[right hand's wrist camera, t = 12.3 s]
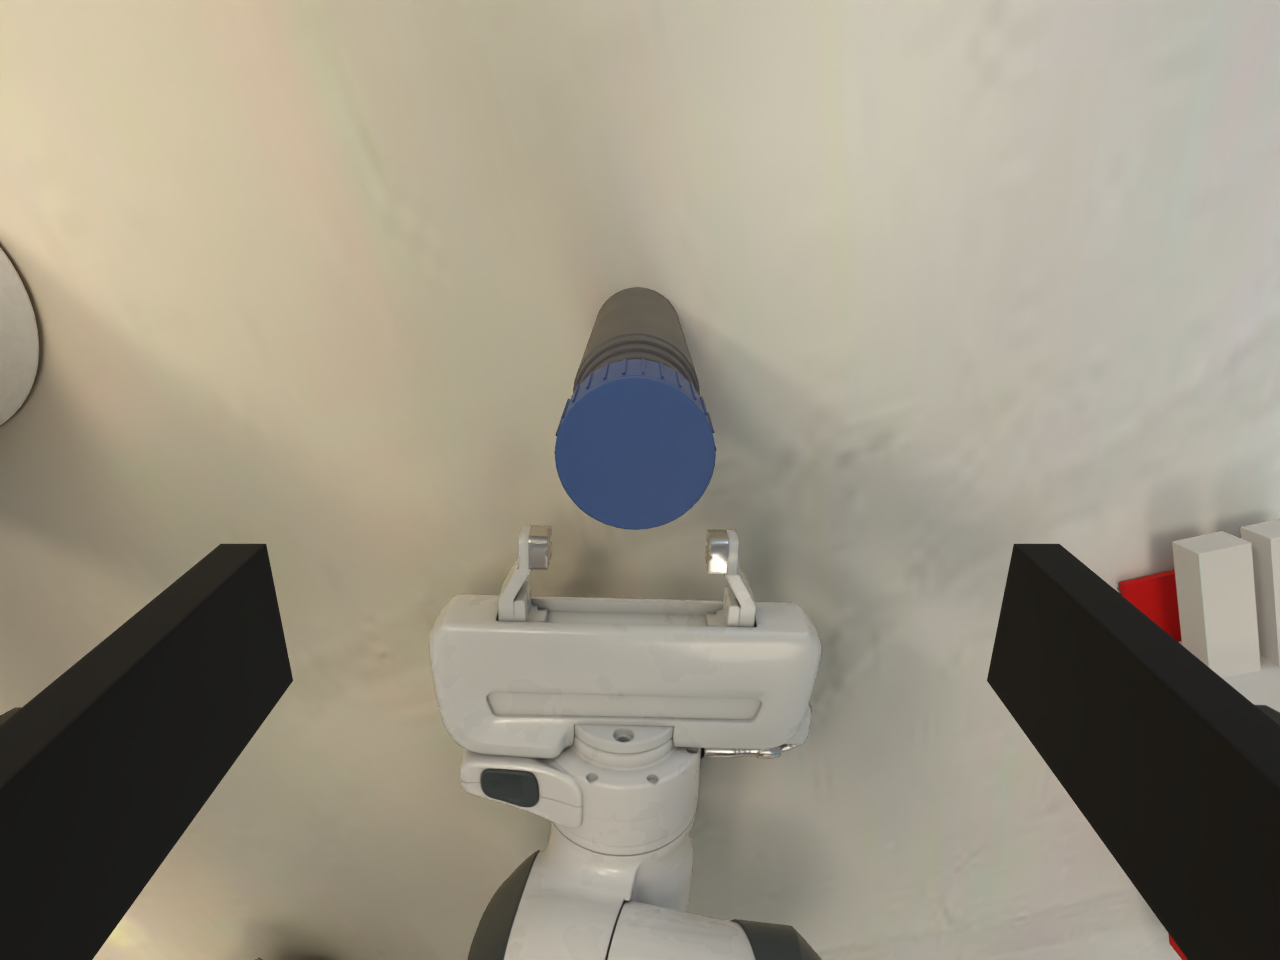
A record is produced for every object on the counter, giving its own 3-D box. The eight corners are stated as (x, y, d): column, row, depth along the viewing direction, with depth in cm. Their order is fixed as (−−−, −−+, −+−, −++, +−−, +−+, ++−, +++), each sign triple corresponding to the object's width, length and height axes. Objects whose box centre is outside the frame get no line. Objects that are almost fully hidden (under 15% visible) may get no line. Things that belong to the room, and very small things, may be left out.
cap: (700, 347, 22) (707, 364, 20) (716, 489, 24) (724, 521, 21) (549, 368, 22) (539, 388, 20) (575, 507, 24) (569, 541, 22)
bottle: (674, 281, 39) (706, 361, 20) (684, 366, 41) (724, 515, 22) (588, 294, 40) (540, 384, 20) (602, 377, 41) (569, 535, 22)
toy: (1472, 542, 34) (1476, 1055, 40) (1250, 477, 47) (1280, 872, 53) (1197, 599, 35) (1243, 1089, 42) (1055, 520, 48) (1106, 902, 55)
